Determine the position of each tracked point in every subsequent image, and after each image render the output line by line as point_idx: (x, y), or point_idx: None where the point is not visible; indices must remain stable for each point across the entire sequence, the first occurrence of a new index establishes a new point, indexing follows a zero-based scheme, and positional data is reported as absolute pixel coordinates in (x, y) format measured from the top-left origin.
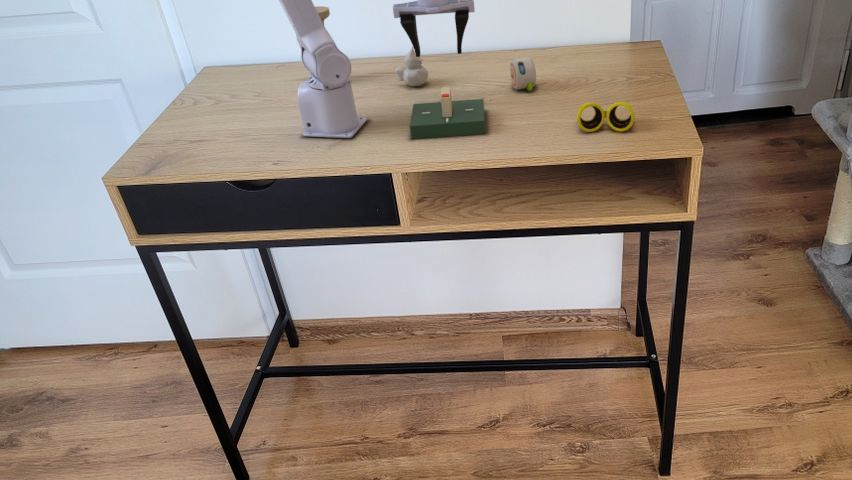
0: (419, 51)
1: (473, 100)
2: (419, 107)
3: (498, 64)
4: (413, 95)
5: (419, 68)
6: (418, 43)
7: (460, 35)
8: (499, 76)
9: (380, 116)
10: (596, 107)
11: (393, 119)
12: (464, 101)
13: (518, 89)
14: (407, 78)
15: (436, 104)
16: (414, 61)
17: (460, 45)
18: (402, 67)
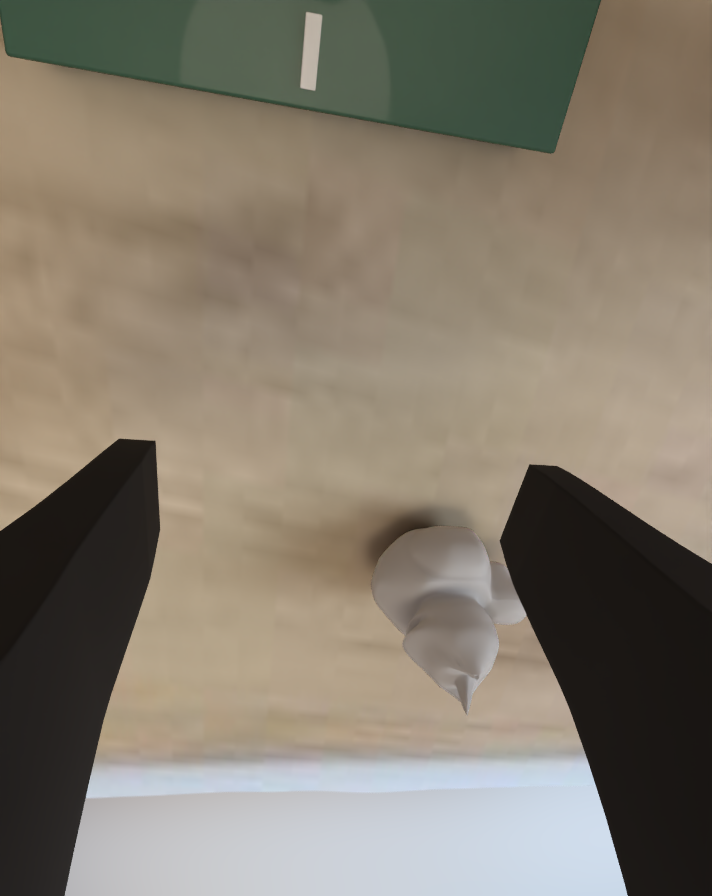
0: (541, 506)
1: (93, 42)
2: (535, 51)
3: None
4: (457, 449)
5: (420, 597)
6: (554, 591)
7: (4, 555)
8: None
9: (687, 226)
10: None
11: (643, 150)
12: (173, 49)
13: None
14: (481, 545)
15: (402, 66)
16: (453, 623)
17: (82, 477)
18: (498, 616)
